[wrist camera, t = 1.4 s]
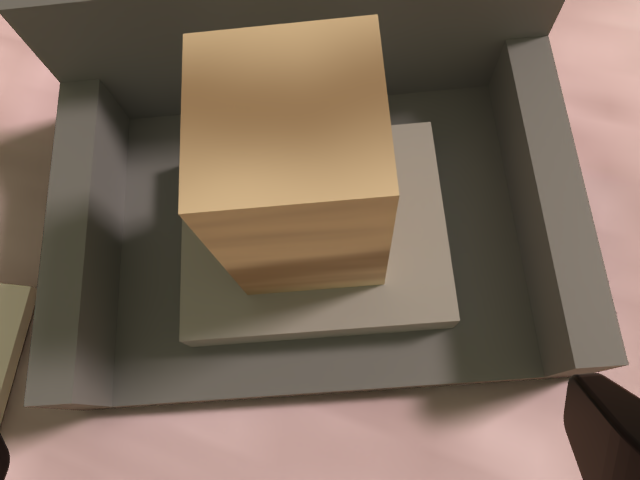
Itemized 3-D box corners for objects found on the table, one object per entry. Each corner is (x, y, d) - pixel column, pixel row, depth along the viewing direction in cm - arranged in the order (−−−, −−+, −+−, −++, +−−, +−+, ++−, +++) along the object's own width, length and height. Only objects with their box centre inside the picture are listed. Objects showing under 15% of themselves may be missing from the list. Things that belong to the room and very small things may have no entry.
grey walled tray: (579, 376, 20) (706, 346, 13) (82, 410, 21) (-69, 401, 14) (512, 66, 25) (578, -89, 18) (106, 104, 26) (3, -28, 18)
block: (384, 284, 20) (399, 195, 12) (247, 295, 20) (178, 214, 12) (371, 160, 21) (377, 14, 14) (245, 171, 21) (182, 33, 14)
